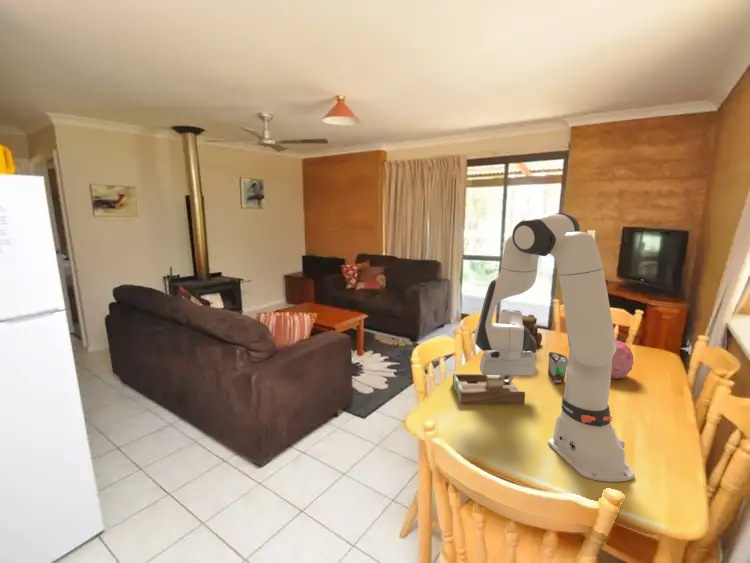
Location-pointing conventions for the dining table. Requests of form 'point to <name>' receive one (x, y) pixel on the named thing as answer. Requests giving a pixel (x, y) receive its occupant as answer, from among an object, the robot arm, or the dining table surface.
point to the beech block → (494, 382)
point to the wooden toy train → (532, 327)
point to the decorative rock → (621, 361)
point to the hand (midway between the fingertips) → (506, 384)
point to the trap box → (484, 391)
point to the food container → (557, 367)
